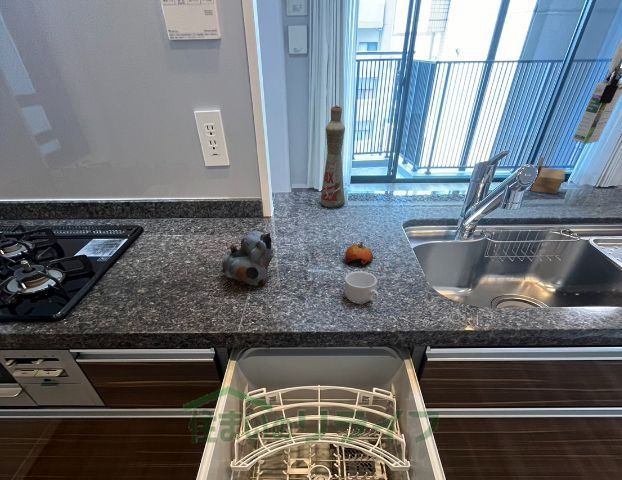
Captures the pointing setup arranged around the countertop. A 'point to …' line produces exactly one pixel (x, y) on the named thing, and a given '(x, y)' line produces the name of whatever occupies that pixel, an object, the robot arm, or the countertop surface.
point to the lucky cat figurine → (250, 259)
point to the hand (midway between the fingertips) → (603, 100)
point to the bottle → (334, 162)
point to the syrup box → (596, 115)
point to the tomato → (358, 253)
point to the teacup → (360, 287)
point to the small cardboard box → (548, 179)
